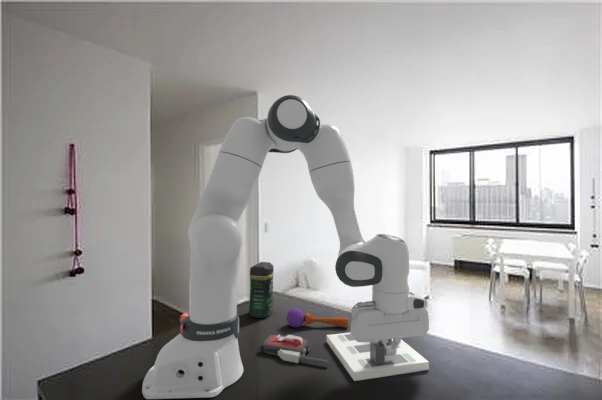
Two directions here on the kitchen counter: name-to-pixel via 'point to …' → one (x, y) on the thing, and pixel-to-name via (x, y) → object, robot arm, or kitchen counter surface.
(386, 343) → the block
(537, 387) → the kitchen counter surface
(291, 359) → the walkie-talkie
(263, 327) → the kitchen counter surface
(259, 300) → the coffee jar
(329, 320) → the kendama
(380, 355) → the block
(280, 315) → the kitchen counter surface
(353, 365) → the breaker panel
